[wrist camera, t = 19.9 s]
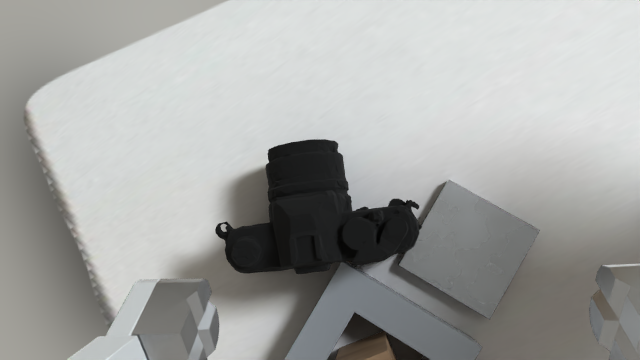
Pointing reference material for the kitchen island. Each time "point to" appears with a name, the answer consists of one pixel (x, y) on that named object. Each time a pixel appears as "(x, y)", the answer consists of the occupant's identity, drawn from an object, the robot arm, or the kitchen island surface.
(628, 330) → the robot arm
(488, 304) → the pad
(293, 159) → the film camera
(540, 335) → the kitchen island surface
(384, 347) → the walnut peg
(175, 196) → the kitchen island surface
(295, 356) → the hole plate
